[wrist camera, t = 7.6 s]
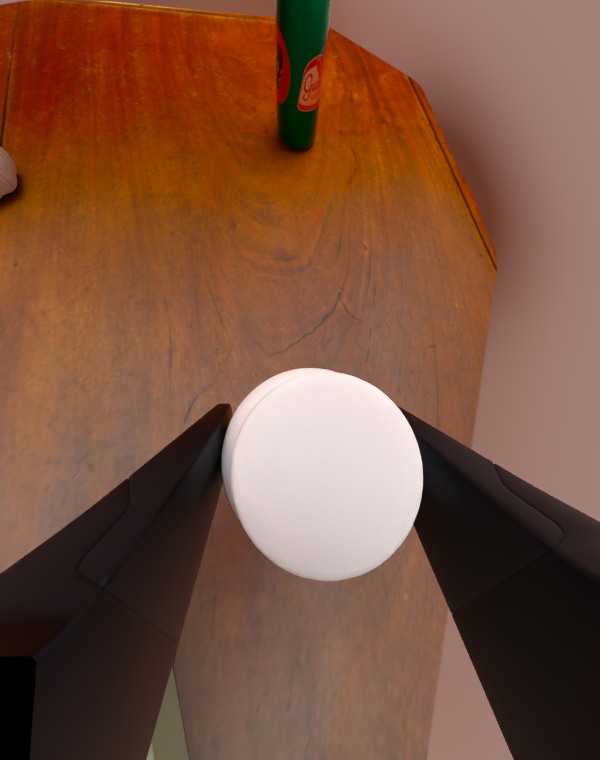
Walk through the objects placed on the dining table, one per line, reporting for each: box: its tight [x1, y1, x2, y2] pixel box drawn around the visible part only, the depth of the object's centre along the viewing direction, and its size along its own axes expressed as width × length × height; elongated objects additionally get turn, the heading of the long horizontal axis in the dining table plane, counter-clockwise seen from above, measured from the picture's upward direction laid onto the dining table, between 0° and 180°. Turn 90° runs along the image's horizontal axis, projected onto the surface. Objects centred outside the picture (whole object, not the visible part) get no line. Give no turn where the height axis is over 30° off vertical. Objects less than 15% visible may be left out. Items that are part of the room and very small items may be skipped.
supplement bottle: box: [221, 368, 423, 581], centre depth 9 cm, size 6×6×10 cm
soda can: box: [275, 0, 332, 150], centre depth 22 cm, size 5×5×12 cm
